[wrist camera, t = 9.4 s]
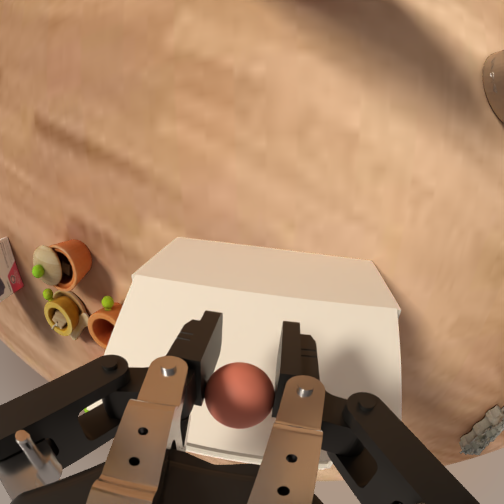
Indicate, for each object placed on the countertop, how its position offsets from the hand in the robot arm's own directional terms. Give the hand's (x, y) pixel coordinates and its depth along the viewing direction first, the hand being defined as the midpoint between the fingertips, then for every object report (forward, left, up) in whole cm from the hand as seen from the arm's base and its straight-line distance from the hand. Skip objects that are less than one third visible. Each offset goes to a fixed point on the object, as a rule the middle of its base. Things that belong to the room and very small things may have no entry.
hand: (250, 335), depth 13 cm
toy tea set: (+22, +16, -18) cm, 32 cm away
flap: (0, +2, -8) cm, 8 cm away
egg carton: (-40, +30, -19) cm, 53 cm away
